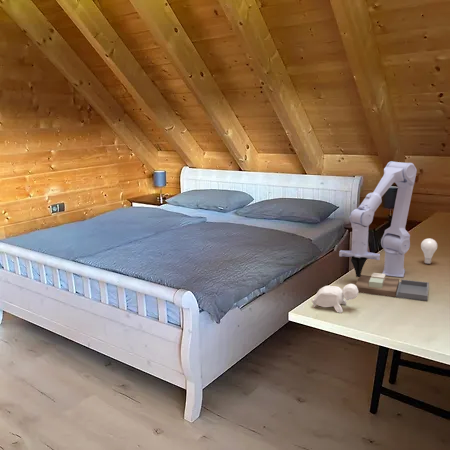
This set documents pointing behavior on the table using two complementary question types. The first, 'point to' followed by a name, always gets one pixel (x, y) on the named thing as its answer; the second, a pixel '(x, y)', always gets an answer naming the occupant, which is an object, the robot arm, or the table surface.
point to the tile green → (376, 282)
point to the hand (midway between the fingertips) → (358, 276)
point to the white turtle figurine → (335, 296)
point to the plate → (387, 289)
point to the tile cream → (378, 276)
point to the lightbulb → (428, 249)
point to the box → (413, 290)
